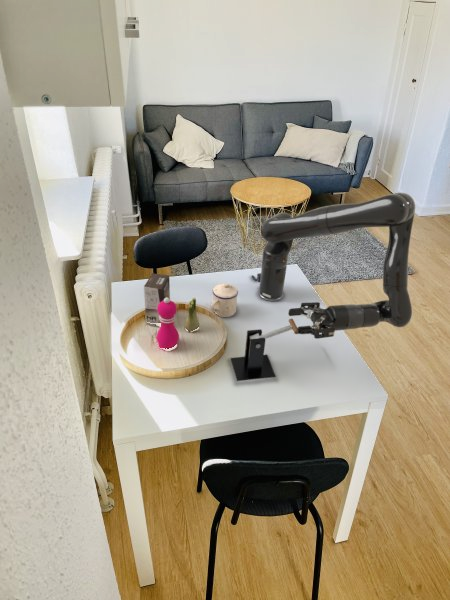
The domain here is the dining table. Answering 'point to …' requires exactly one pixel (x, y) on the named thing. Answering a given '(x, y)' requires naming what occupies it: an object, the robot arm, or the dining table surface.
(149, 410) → the dining table surface
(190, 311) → the fennel bulb
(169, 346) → the pepper mill
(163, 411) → the dining table surface
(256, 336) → the lever
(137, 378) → the dining table surface
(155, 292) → the coffee box
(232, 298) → the teacup with lid
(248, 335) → the bracket
